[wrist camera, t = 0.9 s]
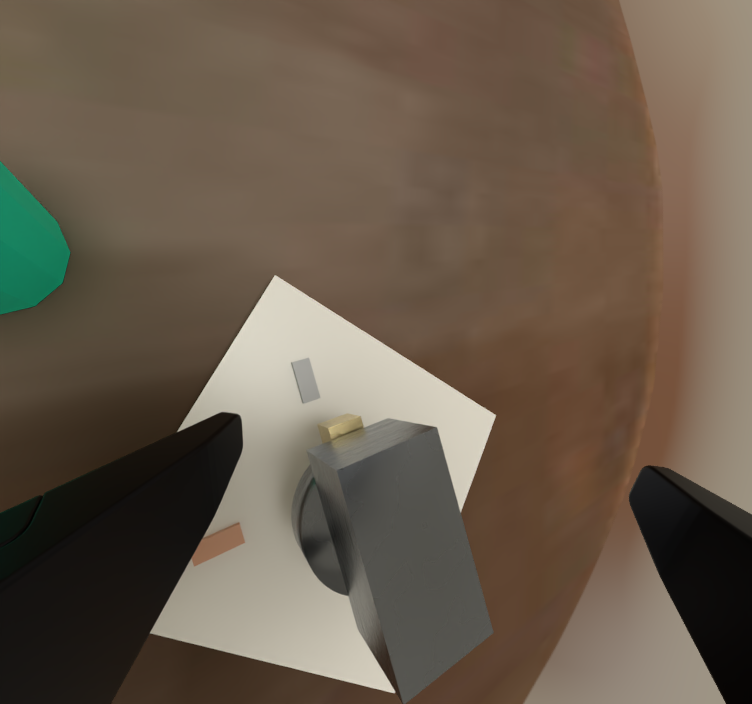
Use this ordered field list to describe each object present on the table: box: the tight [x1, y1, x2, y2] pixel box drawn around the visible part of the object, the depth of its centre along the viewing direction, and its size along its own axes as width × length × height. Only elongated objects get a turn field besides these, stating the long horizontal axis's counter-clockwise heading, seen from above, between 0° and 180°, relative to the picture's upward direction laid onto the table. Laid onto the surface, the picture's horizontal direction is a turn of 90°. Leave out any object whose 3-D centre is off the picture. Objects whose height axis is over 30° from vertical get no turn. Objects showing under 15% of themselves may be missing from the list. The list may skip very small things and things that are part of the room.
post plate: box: [150, 275, 496, 693], centre depth 20 cm, size 18×18×4 cm
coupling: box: [291, 413, 493, 704], centre depth 15 cm, size 8×6×6 cm
